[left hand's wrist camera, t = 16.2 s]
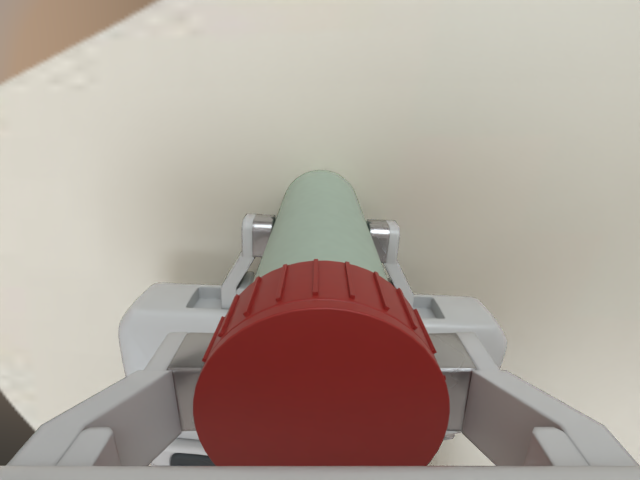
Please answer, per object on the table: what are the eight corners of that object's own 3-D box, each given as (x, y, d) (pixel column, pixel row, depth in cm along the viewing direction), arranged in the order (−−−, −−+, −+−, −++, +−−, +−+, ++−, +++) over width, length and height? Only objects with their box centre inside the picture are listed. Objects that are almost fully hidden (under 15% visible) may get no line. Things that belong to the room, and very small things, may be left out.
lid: (466, 359, 11) (505, 428, 8) (313, 461, 12) (312, 544, 10) (331, 211, 9) (334, 247, 7) (173, 345, 10) (133, 412, 8)
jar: (329, 255, 26) (345, 503, 10) (269, 216, 25) (179, 423, 9) (372, 197, 24) (470, 380, 9) (310, 154, 24) (289, 269, 8)
